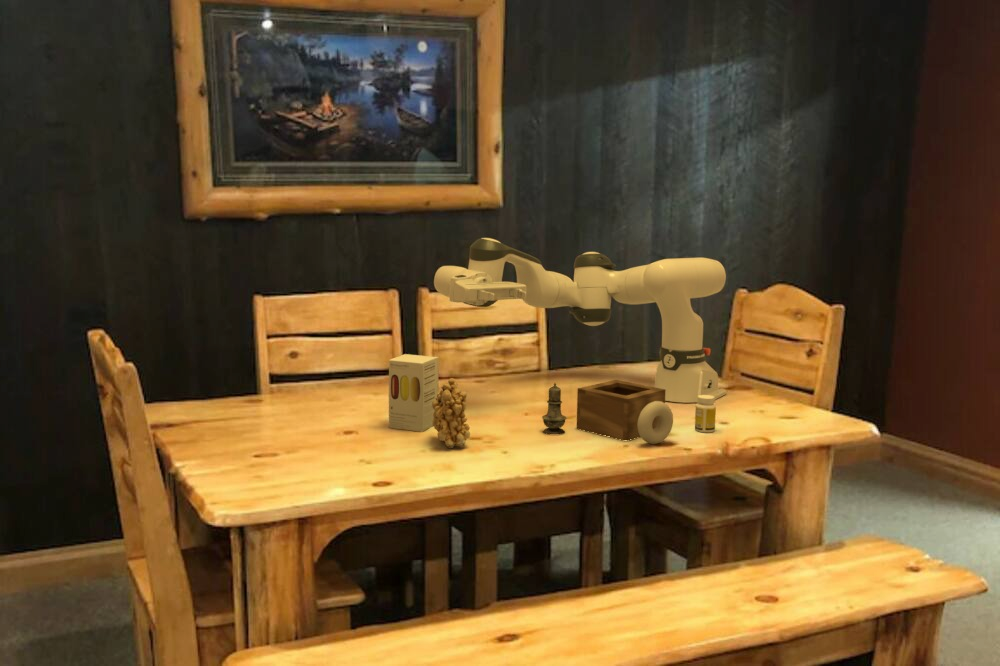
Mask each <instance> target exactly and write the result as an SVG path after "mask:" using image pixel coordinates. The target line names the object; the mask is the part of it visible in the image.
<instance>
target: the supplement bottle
mask: <svg viewBox="0 0 1000 666" xmlns="http://www.w3.org/2000/svg"><path fill="white" fill-rule="evenodd" d="M715 401H716V399H715V397H714V396H711V395H699V396H698V400H697V402H696V404H695V414H694V415H695V416H694V417H695V418H694V430H695V431H696V432H698V431H699V433H705V434H706V433H713V432H715V430H716V415H717V413H716V412H717V411H716V410H717V406H716V404H715Z"/></svg>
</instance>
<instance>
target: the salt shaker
mask: <svg viewBox="0 0 1000 666" xmlns="http://www.w3.org/2000/svg"><path fill="white" fill-rule="evenodd" d="M561 395H562V390H561V387H559V386H557V383H556V382H554V383H553V386H550V387H549V388H548V400H547V401H546V403H547V413H546V414H543V415H542V416H541V419H542V421H543V424H544V426H545V427H546V428H545V429H543V430H542V433H543V434H546V433H547V434H546V435H550V434H559V435H563V434H565V433H566V431H565V430H564V429H563V428H562V427H563V426H564V425H565V423H566V420H567V416H566V415H563V414H562V409H561V408H562V407H561V404H562V403H563V401H562V400H561V399H562V396H561Z"/></svg>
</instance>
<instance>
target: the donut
mask: <svg viewBox="0 0 1000 666" xmlns="http://www.w3.org/2000/svg"><path fill="white" fill-rule="evenodd" d="M656 416H658V418H659V421H658V425H657V427H656V428H655V429H653V428H652V423H653V420H654V418H655V417H656ZM673 425H674V415H673V412H672V409H671V408H670V406H669V405H668V404H667V403H666V402H665V403H663V402H661V401H654V402H651V403H649V404H648V405H646V406H645V407H644V408H643V410H642V411H641V413H640V415H639V418H638V424H637V426H638V432H639V435H640V437H639V438H641V439H642V441H644V442H646V443H647V444H650V445H657V444H660V443H661V442H664V440H665V439H667V438H668V436H669V434H671V431H672V428H673Z"/></svg>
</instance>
